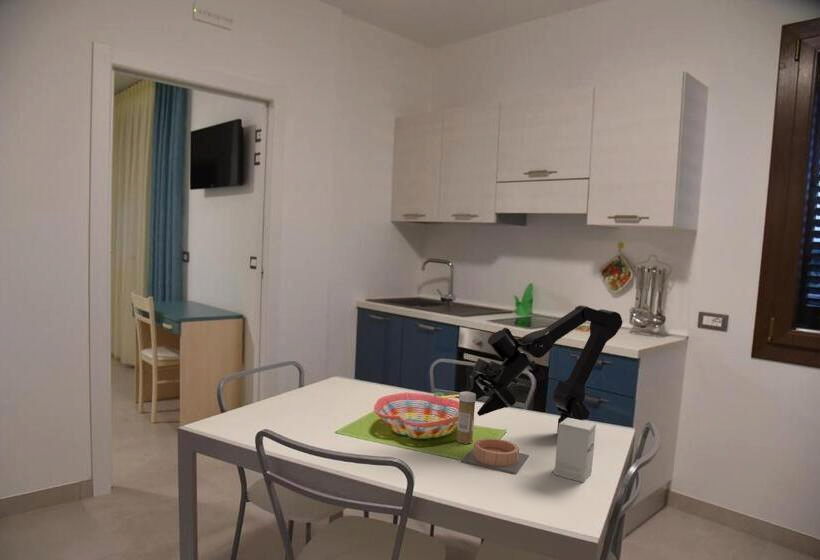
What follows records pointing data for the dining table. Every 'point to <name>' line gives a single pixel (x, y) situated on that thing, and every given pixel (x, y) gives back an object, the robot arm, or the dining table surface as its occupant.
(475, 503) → the dining table surface
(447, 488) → the dining table surface
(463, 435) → the sprinkles bottle
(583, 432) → the supplement box
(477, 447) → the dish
